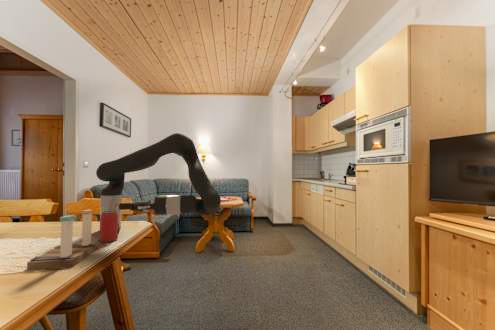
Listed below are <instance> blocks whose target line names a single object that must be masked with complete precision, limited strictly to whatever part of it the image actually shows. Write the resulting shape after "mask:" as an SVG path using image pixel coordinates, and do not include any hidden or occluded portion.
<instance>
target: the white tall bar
mask: <svg viewBox="0 0 495 330" xmlns="http://www.w3.org/2000/svg"><path fill="white" fill-rule="evenodd" d="M80 213H81V215H82V223H81V224H82V225H81V228H82V229H81V244H82V246H87V245H89V244H90V243H92V226H93V214H94V209H84V210H81V212H80Z"/></svg>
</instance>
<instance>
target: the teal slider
mask: <svg viewBox="0 0 495 330" xmlns="http://www.w3.org/2000/svg"><path fill="white" fill-rule="evenodd" d="M75 219H76V215H75V214H72V215H63V216H60V217H59V222H60V225H61V226H60V245H61V247H60V258H63V257H68V256H70V255H71V254H72V244H73V235H74V234H73V232H74V231H73V230H74V220H75Z"/></svg>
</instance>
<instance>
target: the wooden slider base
mask: <svg viewBox="0 0 495 330" xmlns="http://www.w3.org/2000/svg"><path fill="white" fill-rule="evenodd" d="M60 247H61V244H59V245H57V246H55V247H54V248H52V249H50V250H49V251H47V252H44V253H43V254H41V255H38V256H35V257H33V258H31V259H30V261H28V262H27V264H26V270H27V271H28V270H40V269H56V268H73V267H75V266H76V265H78V263H80V262H82V261H83V260H85V258H87V257H88V256H90V255H91V254H92V253H93V252H95V251H96V250H97V249H98V248H99V243H98V242H91V243H90V244H89V245H87V246H82V243H72V254H71V255H70V256H68V257H63V258H60Z"/></svg>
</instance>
